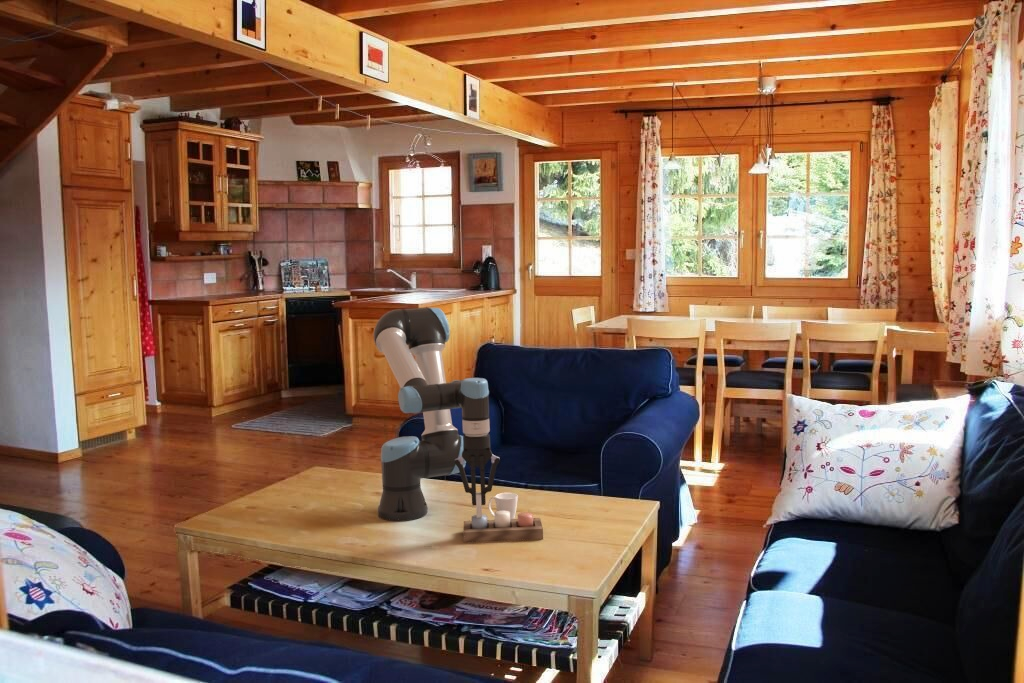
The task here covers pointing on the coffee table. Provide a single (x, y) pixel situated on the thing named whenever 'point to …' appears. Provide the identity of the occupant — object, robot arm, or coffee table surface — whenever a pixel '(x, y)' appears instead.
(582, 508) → the coffee table surface
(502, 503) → the cup
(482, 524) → the blue egg
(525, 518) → the pink egg
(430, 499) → the coffee table surface
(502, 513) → the cream rounded knob
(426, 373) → the robot arm
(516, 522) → the brown compartment tray
